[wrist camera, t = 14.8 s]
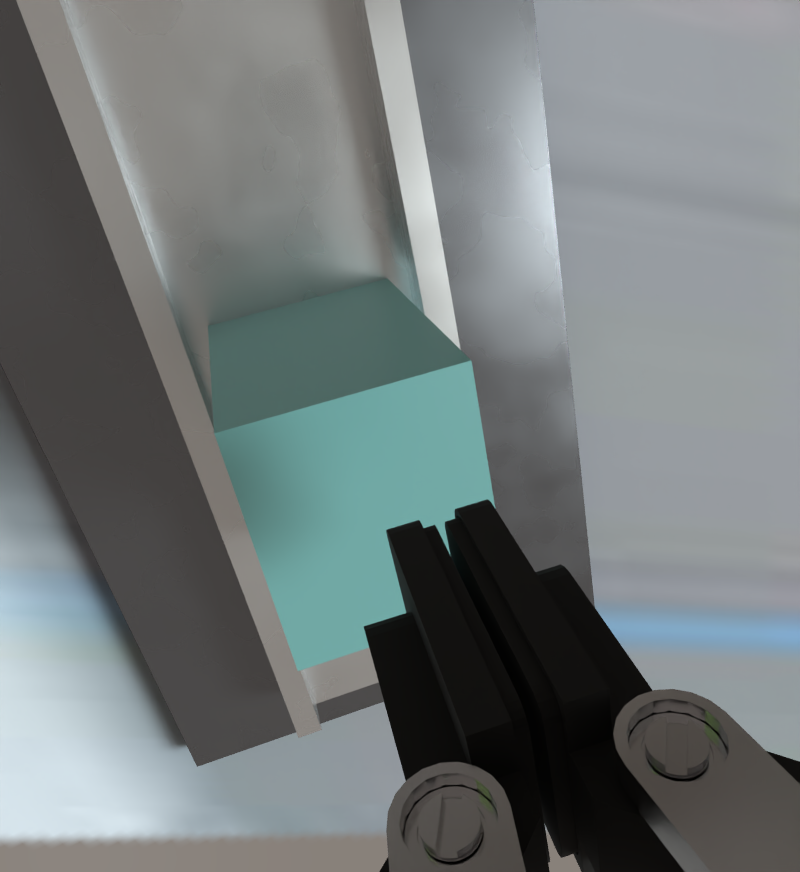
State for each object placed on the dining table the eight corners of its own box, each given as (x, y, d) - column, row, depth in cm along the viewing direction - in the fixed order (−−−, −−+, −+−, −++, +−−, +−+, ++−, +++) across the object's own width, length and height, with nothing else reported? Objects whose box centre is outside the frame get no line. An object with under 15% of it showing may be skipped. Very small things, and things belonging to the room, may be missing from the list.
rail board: (-190, -62, 16) (-271, -94, 13) (497, -191, 18) (552, -242, 15) (197, 745, 28) (197, 818, 25) (584, 611, 30) (624, 665, 27)
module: (206, 326, 20) (211, 434, 14) (389, 277, 20) (473, 359, 14) (267, 512, 22) (295, 672, 16) (427, 463, 23) (512, 600, 17)
